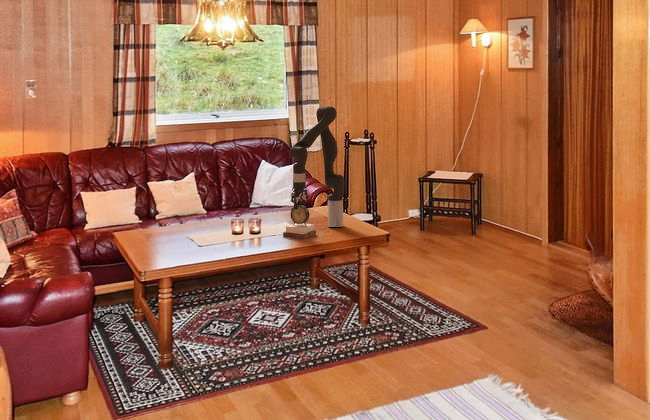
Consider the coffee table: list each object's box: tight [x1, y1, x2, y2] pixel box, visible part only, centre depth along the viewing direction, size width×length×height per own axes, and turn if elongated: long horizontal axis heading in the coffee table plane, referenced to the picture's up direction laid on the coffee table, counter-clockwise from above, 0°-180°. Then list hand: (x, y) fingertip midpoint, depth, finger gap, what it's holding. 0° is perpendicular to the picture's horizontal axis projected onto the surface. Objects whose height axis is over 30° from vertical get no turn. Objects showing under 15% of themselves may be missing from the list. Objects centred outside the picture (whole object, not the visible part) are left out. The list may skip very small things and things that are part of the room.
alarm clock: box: [290, 198, 310, 226], centre depth 419 cm, size 11×5×16 cm, turn 62°
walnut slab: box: [282, 229, 317, 240], centre depth 421 cm, size 14×14×4 cm
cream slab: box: [285, 223, 315, 234], centre depth 421 cm, size 12×12×4 cm
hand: (299, 208), depth 418 cm, fingers open, 8 cm apart
